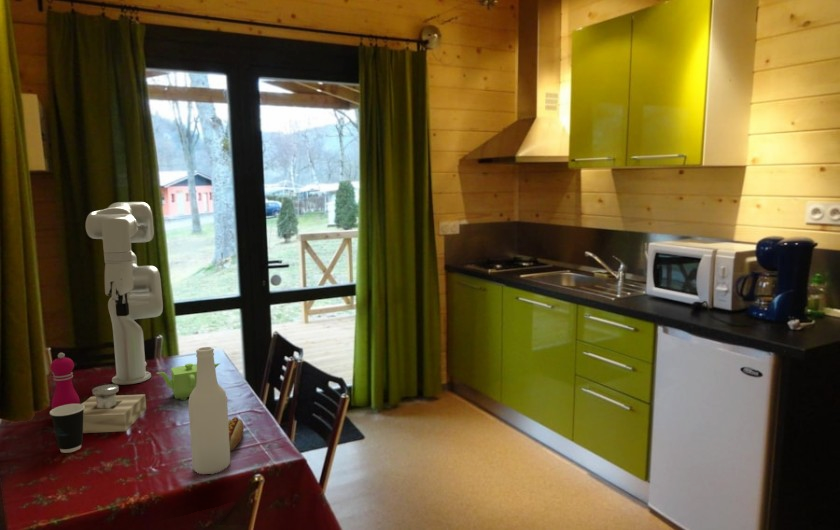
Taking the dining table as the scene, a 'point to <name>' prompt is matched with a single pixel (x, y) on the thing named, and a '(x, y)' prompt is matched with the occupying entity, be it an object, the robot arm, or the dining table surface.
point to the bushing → (105, 396)
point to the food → (235, 432)
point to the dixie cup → (68, 426)
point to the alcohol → (208, 418)
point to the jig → (113, 414)
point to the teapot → (182, 380)
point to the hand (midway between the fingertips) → (122, 315)
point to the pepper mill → (63, 382)
